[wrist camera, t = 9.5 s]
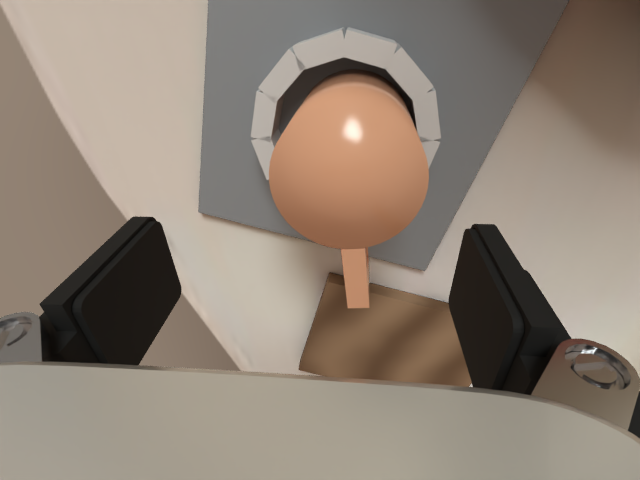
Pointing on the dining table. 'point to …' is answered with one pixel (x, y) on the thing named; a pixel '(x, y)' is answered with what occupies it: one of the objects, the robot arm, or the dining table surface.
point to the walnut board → (384, 338)
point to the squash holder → (371, 55)
